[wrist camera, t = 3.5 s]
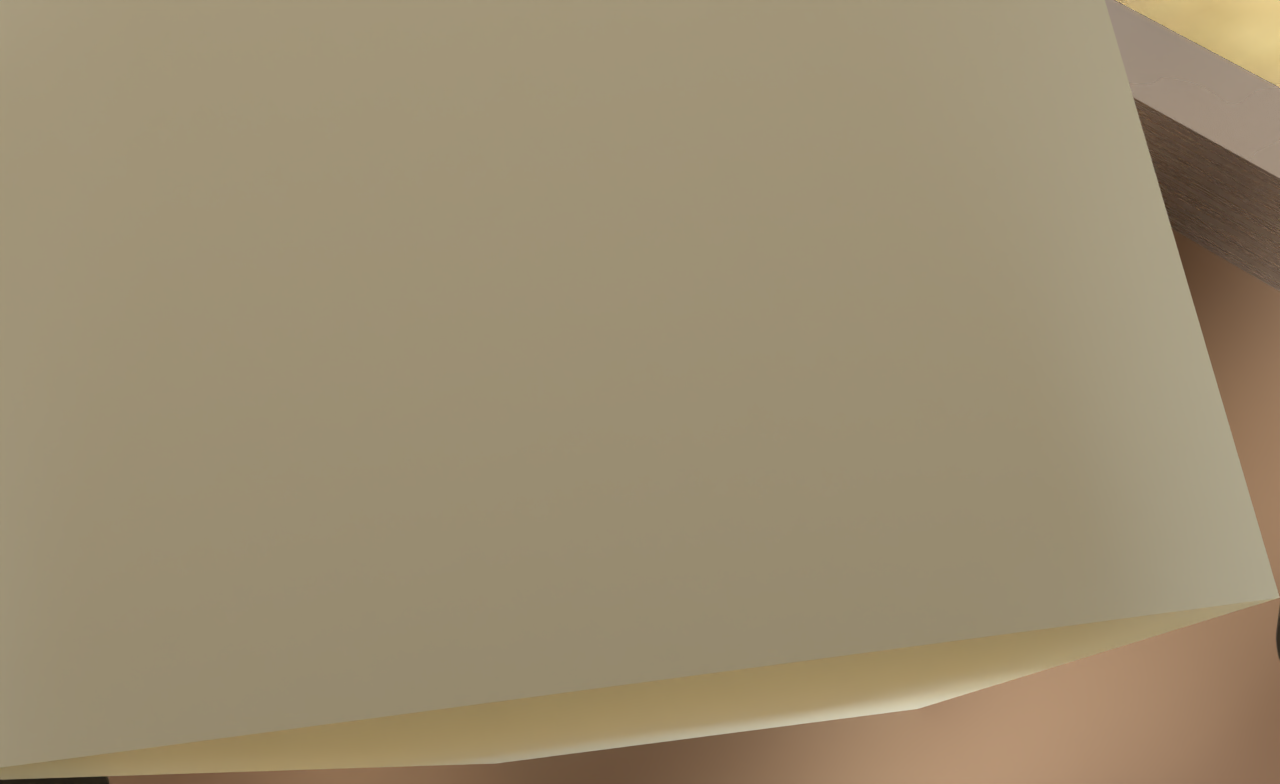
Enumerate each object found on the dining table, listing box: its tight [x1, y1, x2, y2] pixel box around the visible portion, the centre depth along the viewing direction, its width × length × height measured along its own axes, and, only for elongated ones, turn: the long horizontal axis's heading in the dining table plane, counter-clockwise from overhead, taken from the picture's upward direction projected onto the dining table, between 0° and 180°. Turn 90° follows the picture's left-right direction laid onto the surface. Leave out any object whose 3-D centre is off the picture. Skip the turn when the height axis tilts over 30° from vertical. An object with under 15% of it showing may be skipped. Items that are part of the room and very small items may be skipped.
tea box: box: [0, 0, 1280, 780], centre depth 11 cm, size 5×6×12 cm
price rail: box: [1105, 0, 1280, 291], centre depth 17 cm, size 19×2×2 cm, turn 52°
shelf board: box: [108, 229, 1280, 784], centre depth 17 cm, size 20×18×2 cm
